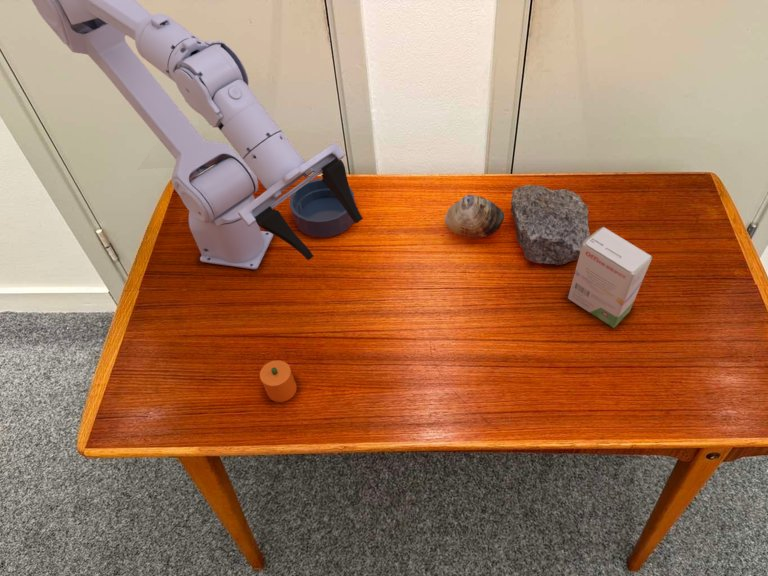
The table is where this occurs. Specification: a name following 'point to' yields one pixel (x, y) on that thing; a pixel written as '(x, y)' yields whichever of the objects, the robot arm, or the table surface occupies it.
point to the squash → (278, 381)
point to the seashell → (474, 217)
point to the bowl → (319, 210)
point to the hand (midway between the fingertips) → (335, 239)
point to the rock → (549, 223)
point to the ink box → (608, 276)
